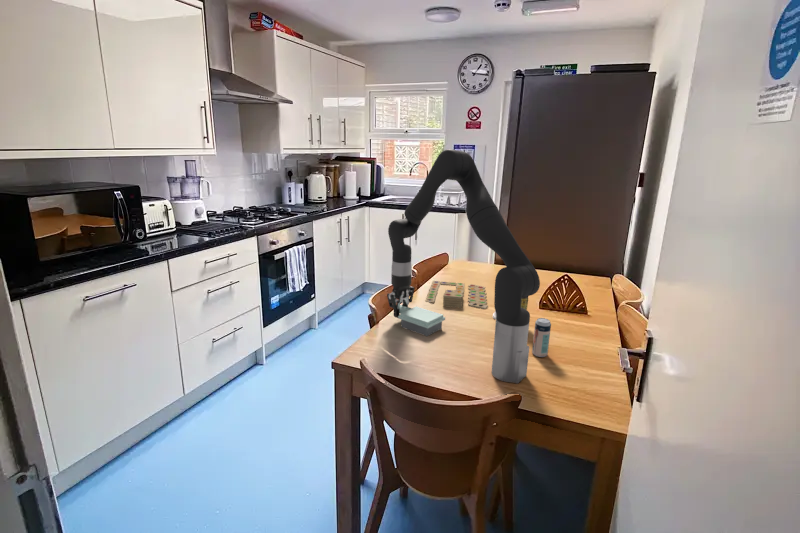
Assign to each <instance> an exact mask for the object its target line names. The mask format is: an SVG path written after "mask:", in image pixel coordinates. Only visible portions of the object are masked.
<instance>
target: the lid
mask: <svg viewBox="0 0 800 533" xmlns="http://www.w3.org/2000/svg"><path fill="white" fill-rule="evenodd" d="M399 313H400V315H399V316H398V318H397V319H399V320H404V321H407V322H410V323H413V324H416V325H419V326H422V327H425V328H430V327H432V326H434V325H436V324H438V323H440V322H442V323H443V321H446V316H444V314H442V313H439V312H436V311H432V310H429V309H425V308H422V307H419V306H414V307H409V306H408V307H406V306H402V304H400V310H399Z"/></svg>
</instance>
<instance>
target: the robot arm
mask: <svg viewBox="0 0 800 533" xmlns="http://www.w3.org/2000/svg"><path fill="white" fill-rule="evenodd" d="M447 180H449V181H456V182H457V183H458V184H459V186H460V188H461V189H462V191H463V193H464V195H465V199H466V208H465V209H466V218H467V221H468V223H469V225H470V227H471V229H472V230H473V233H474V234H475V236H476V237H477V238H478V240H479V241H480V242H481V243H484V245H485V246H486V247H488V248H489V249H491V250H492V251H493V252H494V253H496V254H497V256H499V258H500V259H501V260H502V261H503V263H504V265H505V266H504V267H502V268H500V269H499V270H498V272H497V274H496V277H495V280H494V281H495V282H494V298H493V300H494V304H493V306H494V312H495V311H496V319H495V327H494V337H493V338H494V340H493V349H492V350H493V351H492V364H491V374H492V376H493V377H494V378H495V379H497V380H499V381H502V382H506V383H515V384H519V383H520V382H521V381H522V380H523V379H525V377H527V372H528V364H529V353H530V345H528V338H529V329H530V320H531V314H530V312H529V310H528V309H527V310H526V309H524V308H521V298H523V297H527V296H528V297H529V296H533V295H535V294H536V293H538V291H539V289H540V286H541V280H540V276H539V274H538V272H537V269H536V268H535V267H534V265H533V263H532V261H530V259H529V258H528V256H527V255H526V253H525V252H524V251H523V249H522V248H521V246H520V245H519V244H518V242H517V240H516V238H515V237H514V235H513V233H512V232H511V230H510V228H509V227H508V225H507V223H506V222H505V219H504V217H503V215H502V214H501V212H500V210H499V208H498V207H497V205H496V203H495V201H494V200H493V198H492V197H491V194H490V192H489V191H488V189H487V187H486V186H485V184H484V182H483V179H482V177H481V174H480V172H479V169H478V168H477V165H476V163H475V161H474V159H473V157H472V156H471V155H470V154H469V153H468V152H466V151H462V150H457V149H453V148H447V149H444V150H443V151H441V152H440V154H438V156H437V157H436V159H435V161H434V162H433V164H432V166H431V168H430V170H429V172H428V174H427V176H426V177H425V179H424V182H423V184H422V186H420V189H419V190H418V192H417V194H416V195H415V196H414V197H413V199H412V200H411V202H410V203H409V204H408V205H407V207H406V208H405V209H404V218H401V219H395V220H392V221H391V222H390V223H389V226H388V228H387V230H388V231H387V232H388V237H389V242H390V247H391V251H392V253H391V254H392V259H391V260H392V262H391V279H390V280H391V282H390V283H391V285H392V291H391V293H389V292H388V293H386V297H387V302H388V305H389V306H388V307H389V308H391V309H393V317H394V318H397V319H398V316H399V315H400V313H399V310H400V305H402V306H406V307H409V306H410V303H412V302H413V298H414V293H415V287H414V286H411V285H412V279H413V278H412V274H413V272H412V270H413V269H412V247H411V246H410V245H409V244H405V241H404V240H405V239H409V238H411V237H413V236H414V235H415V234H416V233H417V232H418V230H419V228H420V226H421V223H422V221H423V220H424V219H425V218H426V216H428V214H429V213H430V211H431V210H432V209H433V206H434V205H435V199H436V194H437V192H438V189H439V188H440V187H441V186H442V185H443V183H445V182H446V181H447Z"/></svg>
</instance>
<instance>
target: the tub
mask: <svg viewBox="0 0 800 533" xmlns="http://www.w3.org/2000/svg"><path fill="white" fill-rule="evenodd" d="M400 320H401V319H400ZM400 327H401V328H403V329H406V330H408V331H411V332H413V333H414V332H415V333H416V334H420V335H423V336H425V337H428V336H430V335H432V334H434V333H436V332H437V331H440V330H442V327H443V321H442V322H440V323H438V324H436V325H434V326H432V327H430V328H425V327H422V326H419V325H416V324H413V323H410V322H407V321H404V320H401V321H400Z"/></svg>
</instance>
